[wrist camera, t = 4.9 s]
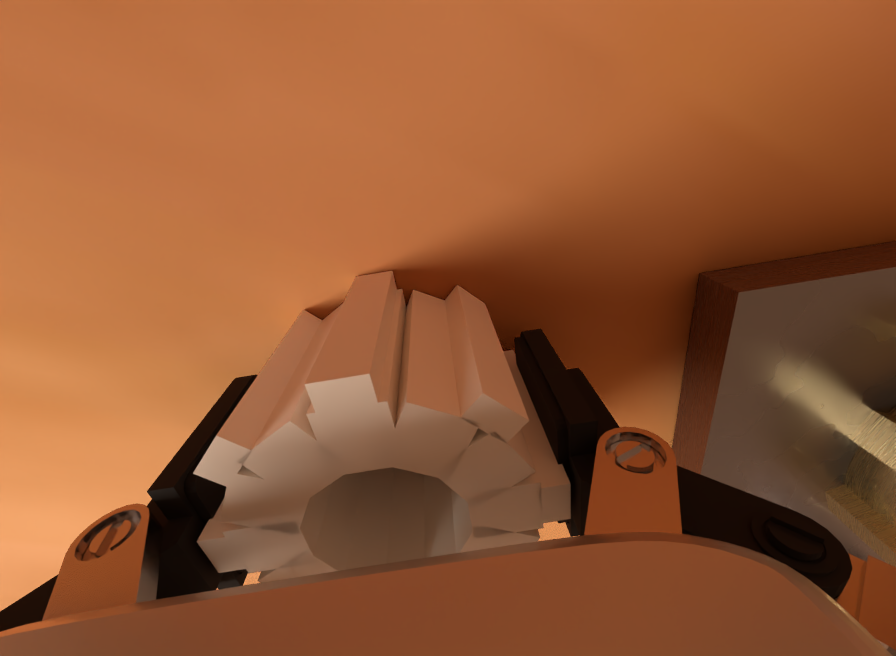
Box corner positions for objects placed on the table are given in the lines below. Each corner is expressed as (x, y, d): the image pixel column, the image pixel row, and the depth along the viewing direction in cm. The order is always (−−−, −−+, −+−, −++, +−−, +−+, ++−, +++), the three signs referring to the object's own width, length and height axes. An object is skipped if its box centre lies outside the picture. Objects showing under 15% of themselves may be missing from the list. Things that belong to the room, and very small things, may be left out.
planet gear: (244, 294, 10) (107, 415, 6) (504, 251, 10) (569, 342, 6) (322, 479, 13) (273, 649, 9) (521, 448, 13) (571, 604, 9)
